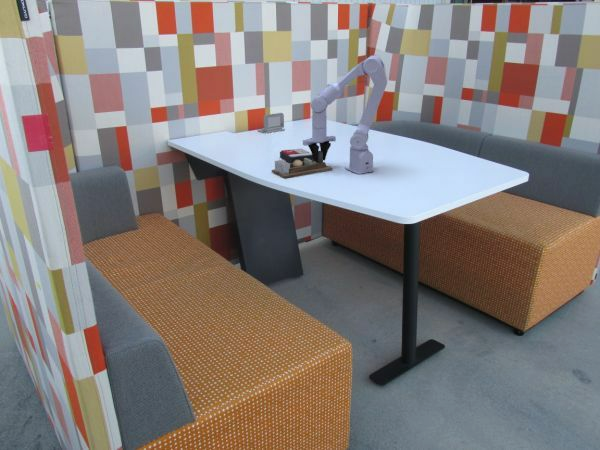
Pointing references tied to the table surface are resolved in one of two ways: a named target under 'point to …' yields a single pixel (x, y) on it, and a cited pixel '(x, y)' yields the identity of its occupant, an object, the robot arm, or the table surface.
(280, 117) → the handheld gaming console
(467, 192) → the table surface
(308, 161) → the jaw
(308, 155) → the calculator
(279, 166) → the anvil
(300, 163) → the ball
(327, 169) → the base
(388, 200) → the table surface
